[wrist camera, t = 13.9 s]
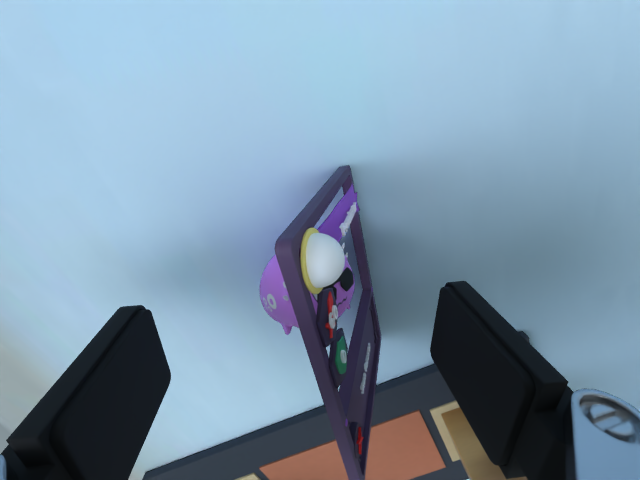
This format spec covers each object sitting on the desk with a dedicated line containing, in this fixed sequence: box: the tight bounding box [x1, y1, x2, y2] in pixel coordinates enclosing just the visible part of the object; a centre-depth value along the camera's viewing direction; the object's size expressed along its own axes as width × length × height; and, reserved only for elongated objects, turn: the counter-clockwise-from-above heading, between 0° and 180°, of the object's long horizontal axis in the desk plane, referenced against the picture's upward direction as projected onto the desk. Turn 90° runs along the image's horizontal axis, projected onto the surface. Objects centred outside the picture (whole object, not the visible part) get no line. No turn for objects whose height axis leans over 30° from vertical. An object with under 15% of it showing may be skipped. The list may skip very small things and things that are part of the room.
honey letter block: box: [441, 407, 528, 480], centre depth 16 cm, size 4×4×5 cm
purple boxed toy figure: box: [260, 165, 381, 480], centre depth 11 cm, size 7×5×9 cm
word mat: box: [142, 331, 530, 480], centre depth 19 cm, size 24×11×1 cm, turn 115°
